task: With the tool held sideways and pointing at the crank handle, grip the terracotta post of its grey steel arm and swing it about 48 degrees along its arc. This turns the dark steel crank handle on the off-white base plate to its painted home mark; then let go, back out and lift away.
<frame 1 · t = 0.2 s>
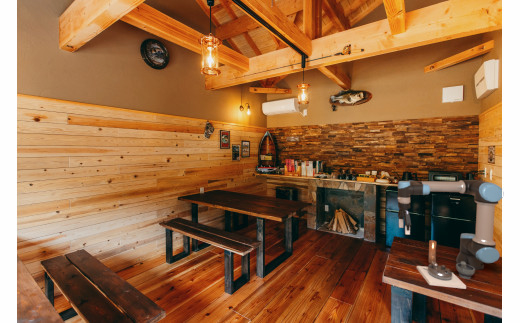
hand: (404, 230, 170), 27 cm above the table, tool pointing down, fingers open, 13 cm apart
base plate: (439, 277, 157), on the table
crank handle: (437, 259, 160), point 12 cm above the table, hinge at 0.0°
mortar and pestle: (464, 277, 158), on the table
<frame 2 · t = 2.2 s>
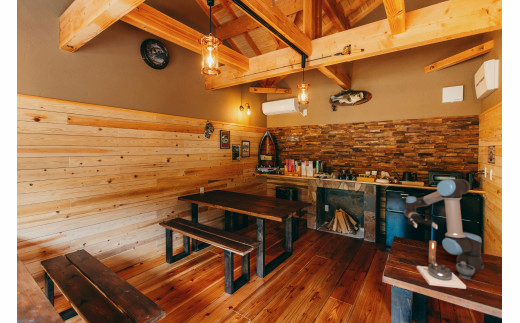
hand: (426, 226, 176), 28 cm above the table, tool horizontal, fingers open, 13 cm apart
nothing on the table moved.
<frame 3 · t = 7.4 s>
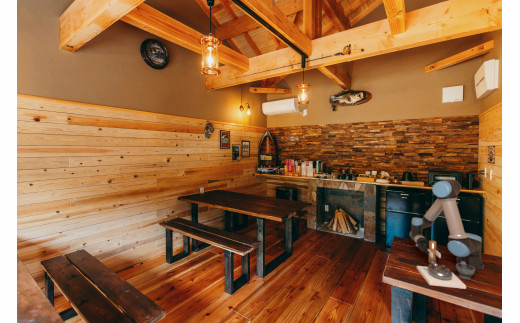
hand: (436, 255, 162), 13 cm above the table, tool horizontal, fingers closed on crank handle, 4 cm apart
crank handle: (437, 259, 160), point 12 cm above the table, hinge at 0.1°, touching gripper
everything else where it was.
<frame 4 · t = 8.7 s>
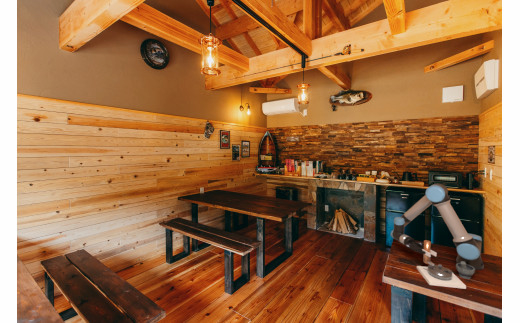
hand: (433, 254, 162), 13 cm above the table, tool horizontal, fingers closed on crank handle, 4 cm apart
crank handle: (436, 259, 160), point 12 cm above the table, hinge at 19.7°, touching gripper
everything else where it was.
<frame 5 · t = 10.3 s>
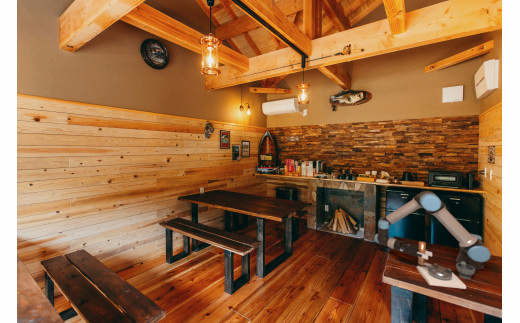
hand: (429, 256, 161), 13 cm above the table, tool horizontal, fingers open, 6 cm apart
crank handle: (434, 259, 159), point 12 cm above the table, hinge at 46.7°
everything else where it was.
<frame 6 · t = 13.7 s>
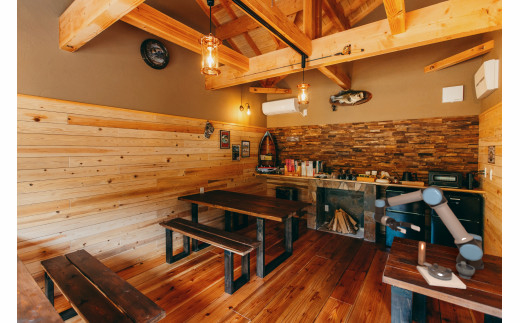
hand: (412, 230, 171), 27 cm above the table, tool horizontal, fingers open, 13 cm apart
nothing on the table moved.
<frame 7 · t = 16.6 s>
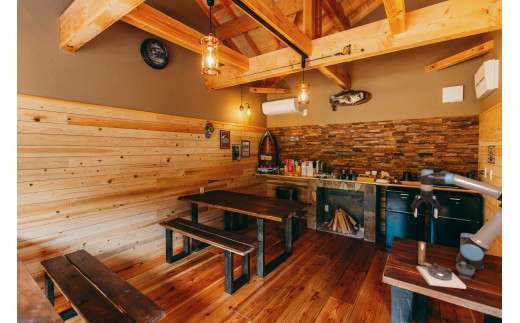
hand: (425, 217, 178), 35 cm above the table, tool pointing down, fingers open, 13 cm apart
nothing on the table moved.
at the end: crank handle at +47° (first picture: +0°); the gripper is holding nothing; mortar and pestle moved 0.2 cm from its start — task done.
